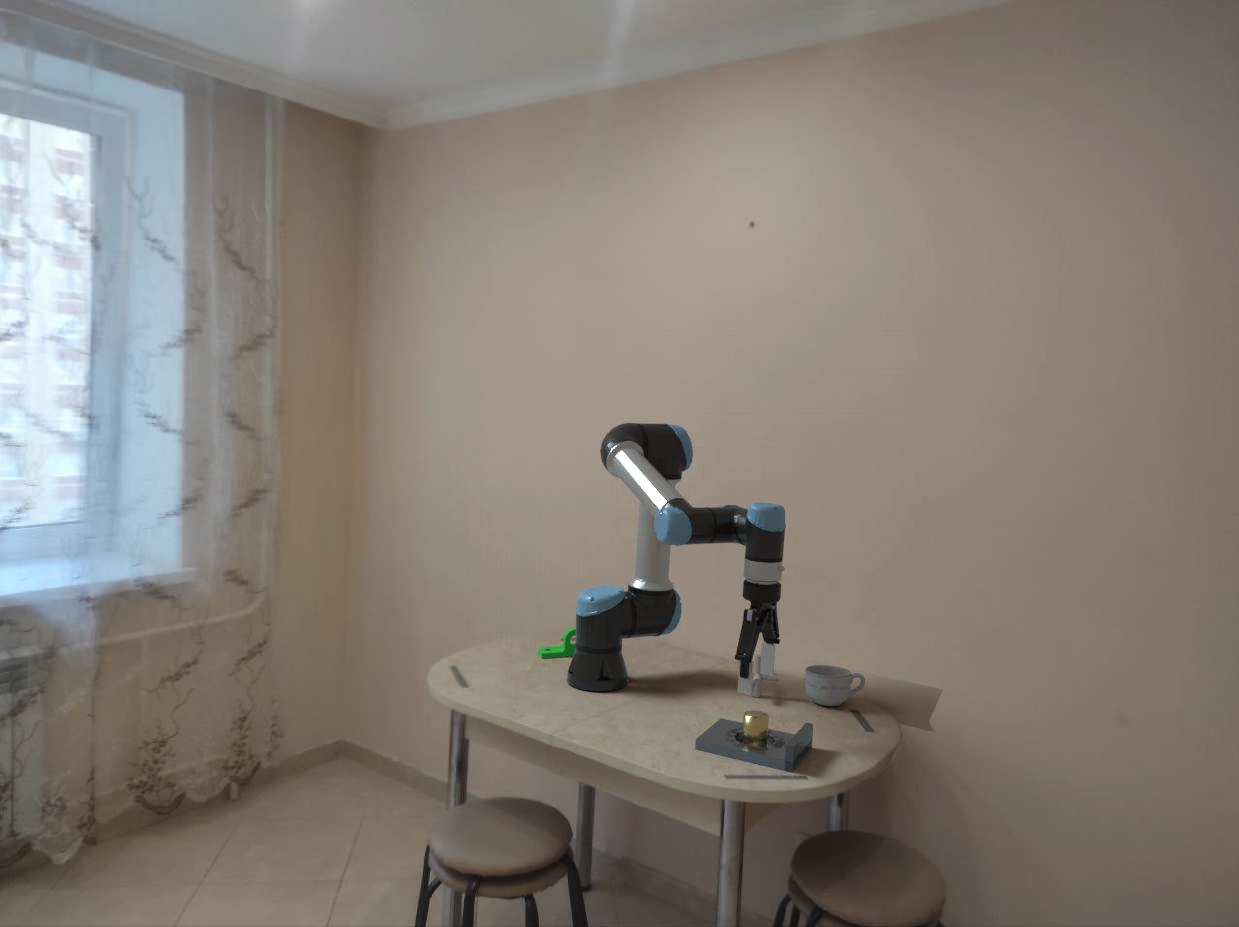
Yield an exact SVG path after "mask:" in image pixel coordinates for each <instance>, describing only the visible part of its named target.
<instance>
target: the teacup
mask: <svg viewBox="0 0 1239 927" xmlns="http://www.w3.org/2000/svg"><path fill="white" fill-rule="evenodd" d="M804 671H805V678H804V685H805V686H804V688H805V693H806V695H807V697H808V698H809V699H810V700H811V701H812V702H813V703H815V704H817V705H821V706H825V707H827V706H828V707H836V706H837V707H838V706H840V705H842V704H843V703H845V702H846V701H847V700H848V699H849V698H851V697H852V696H853V695H854V694H855V693H858V692H860V691H861V690H862V689H863V688H864V687H865V685H866V679H865V677H864V675H863V674H861V673H859V672H854V673H852V672H851V671H850V670H849V669H847V668H844V667H841V666H835V665H827V664H826V665H824V664H819V665H818V664H814V665H808V666H806V667H805V668H804ZM855 678H859V679H860V683H859V685H858V686H857V687H855V688H853V689H851V684H852V683H853V681H854V679H855Z"/></svg>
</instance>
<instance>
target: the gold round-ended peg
mask: <svg viewBox="0 0 1239 927" xmlns="http://www.w3.org/2000/svg"><path fill="white" fill-rule="evenodd" d="M769 717H770V716H769V714H768V713H767V712H764V711H760V710H754V709H753V710H746V711H744V712H743V718H742V719H743V722H742V723H743V738H742V741H741V743H742V744H745V745H749V746H754V747H765V746H768V744H767V739H768V729H769Z"/></svg>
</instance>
